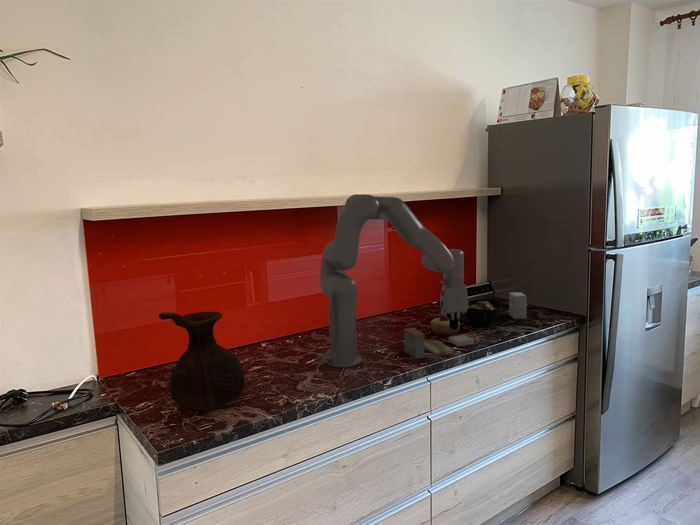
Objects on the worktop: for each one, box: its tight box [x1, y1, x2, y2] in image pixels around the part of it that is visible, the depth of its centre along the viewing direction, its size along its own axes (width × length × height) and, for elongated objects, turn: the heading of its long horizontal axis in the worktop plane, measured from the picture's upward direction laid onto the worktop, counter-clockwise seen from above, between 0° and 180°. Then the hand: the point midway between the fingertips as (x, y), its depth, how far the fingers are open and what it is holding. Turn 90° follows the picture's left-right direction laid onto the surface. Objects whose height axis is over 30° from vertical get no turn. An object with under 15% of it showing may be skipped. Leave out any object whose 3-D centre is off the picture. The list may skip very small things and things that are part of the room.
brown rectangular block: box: [403, 327, 426, 360], centre depth 192 cm, size 4×9×9 cm, turn 19°
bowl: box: [463, 299, 503, 327], centre depth 228 cm, size 17×17×10 cm
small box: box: [508, 291, 528, 320], centre depth 238 cm, size 8×6×10 cm
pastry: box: [430, 314, 461, 336], centre depth 218 cm, size 12×12×9 cm
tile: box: [448, 334, 475, 347], centre depth 204 cm, size 2×7×7 cm
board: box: [424, 340, 455, 357], centre depth 197 cm, size 7×13×1 cm, turn 19°
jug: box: [158, 311, 246, 412], centre depth 153 cm, size 22×22×30 cm
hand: (453, 328), depth 202 cm, fingers closed
